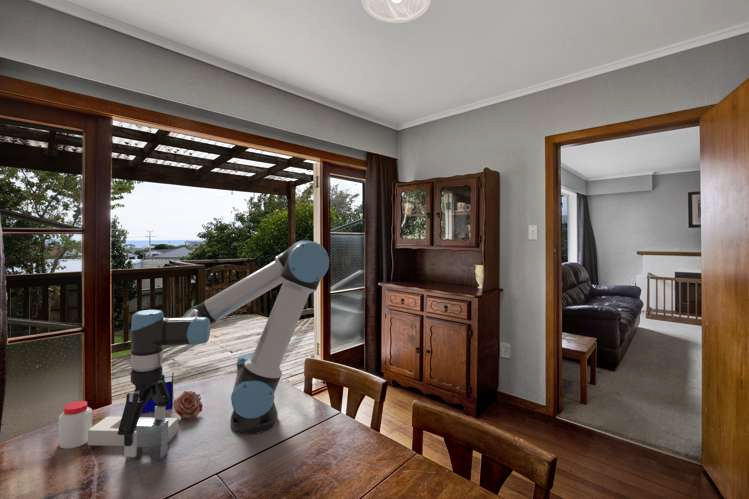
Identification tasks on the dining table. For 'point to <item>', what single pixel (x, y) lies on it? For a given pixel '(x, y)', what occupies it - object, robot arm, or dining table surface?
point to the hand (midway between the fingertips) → (146, 441)
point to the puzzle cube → (169, 383)
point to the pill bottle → (74, 424)
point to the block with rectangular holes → (109, 427)
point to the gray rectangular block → (151, 438)
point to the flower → (188, 405)
